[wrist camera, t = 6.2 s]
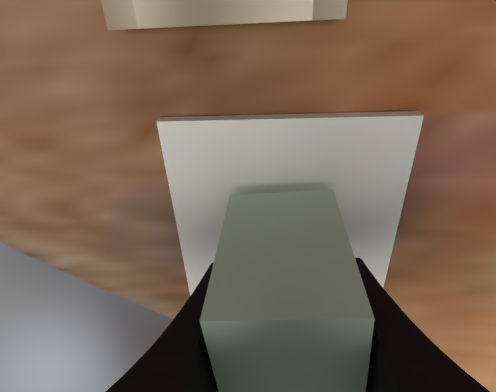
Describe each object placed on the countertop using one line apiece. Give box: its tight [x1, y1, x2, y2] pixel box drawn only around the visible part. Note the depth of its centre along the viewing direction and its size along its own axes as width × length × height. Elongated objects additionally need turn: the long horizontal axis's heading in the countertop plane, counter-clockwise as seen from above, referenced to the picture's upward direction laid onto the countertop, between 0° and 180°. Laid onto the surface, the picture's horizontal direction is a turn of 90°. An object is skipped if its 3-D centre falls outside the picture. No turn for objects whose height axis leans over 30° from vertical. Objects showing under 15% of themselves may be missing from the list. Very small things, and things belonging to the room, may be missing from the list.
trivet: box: [157, 111, 424, 296], centre depth 15 cm, size 10×10×1 cm
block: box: [200, 189, 375, 392], centre depth 11 cm, size 4×4×6 cm
